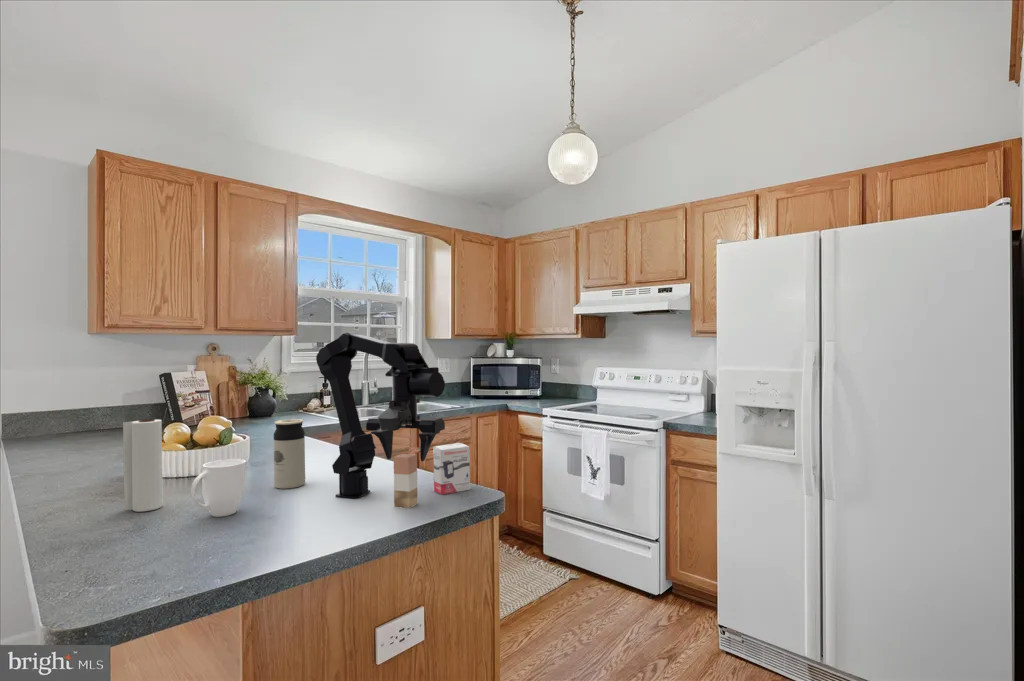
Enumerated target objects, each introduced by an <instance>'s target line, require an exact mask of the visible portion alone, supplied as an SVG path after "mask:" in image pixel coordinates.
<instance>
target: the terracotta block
mask: <svg viewBox="0 0 1024 681" xmlns="http://www.w3.org/2000/svg"><path fill="white" fill-rule="evenodd" d="M417 458H418V454H417V453H416V454H414V453H400V454H397V455H395V456H393V475H394V474H406V475H409V474H411V473H413V472H416V471H417V472H418V459H417Z"/></svg>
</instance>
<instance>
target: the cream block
mask: <svg viewBox="0 0 1024 681" xmlns="http://www.w3.org/2000/svg"><path fill="white" fill-rule="evenodd" d="M393 481H394V482H393V485H394V486H393V489H394V490H396V491H407V492H409V491H411V490H413V489H415V488H417V489H418V470H417V471H416V472H413V473H411V474H409V475H406V474H394V473H393Z"/></svg>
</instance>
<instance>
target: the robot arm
mask: <svg viewBox="0 0 1024 681" xmlns="http://www.w3.org/2000/svg"><path fill="white" fill-rule="evenodd" d="M358 352H361V353H363V354H368V355H372V356H374V357H378V358H380V359H381V360H382V361H383V362H384V363H385V364H387V365H389V366H391V367H390V369H389V370H387V372H386V373H385V375H384V376H385V377H391V379H392V380H391V381H392V382H391V383H392V384H391V385H392V386H391V387H392V388H391V389H392V392H391V393H392V399H391V400H389V402H388V409H385V410H384V411H383V412H382V413H381V414H379V415H378V416H374V417H369V418H368V419H367V420H366V422H365V430H366V431H370V432H369V433H366V432H365V431H364V430H363V428H362V425H361V421H360V420H361V419H360V417H359V413H358V409H357V408H358V407H357V405H356V402H355V397H354V393H353V390H352V386H351V381H350V374H351V371H352V367H353V365H352V364H353V363H352V360H353V359H355V357H356V356H357V354H358ZM315 359H316V363H317V366H318V369H319V372H320V374H321V375H322V376H323V377H324V378H325V379H326V380H327V381H328V382H329V386H330V389H331V394H332V398H333V402H334V405H335V410H336V415H337V418H338V422H339V426H340V429H341V430H340V431H341V439H340V442H339V445H338V448H339V449H338V451H339V455H338V457H337V458H336V459H335V461H334V462H333V463H332V466H331V467H332V470H333V473H334V474H336V475H338V481H339V482H338V483H339V484H338V486H339V487H338V488H339V490H338V493H335V498H345V499H346V498H347V499H348V498H349V499H358V498H360V497H363V496H366V495H367V494H369V493H371V489H369V477H368V476H367V470H368V469H372V466H373V461H374V458H375V457H376V449H377V446H376V445H375V443H374V437H373V435H375V437H377V439H378V440H379V441H380V444H381V446H382V448H383V451H384V452H383V453H385V457H386V459H387V460H390V459H392V454H393V445H394V444H393V442H394V432H395V431H399V430H400V429H419V431H420V433H418V434H417V435H418V438H419V440H420V452H419V454H420V462H424V461H426V457H427V455H428V453H429V450H430V448H431V445H432V443H433V441H434V439H435V438H436V435H437V434H440V433H441V431H444V430H445V429H446V423H445V421H444V419H443V418H442V417H427V418H424V419H421V416H420V415H419V414H418V404H419V403H420V398H419V397H432V398H433V397H440V396H441V395H442V394H443V392H444V390H445V386H446V381H445V380H444V376H443V375H442V373H440V372H439V371H440V370H439V367H438V366H435V367H434V366H432V367H429V365H428V364H427V362H426V360H425V358H424V357H423V355H422V353H421V352H420V349H419V346H418V345H417V344H415V343H414V342H412V343H411V342H409V343H408V342H389V341H386V340H382V339H378V338H374V337H371V336H368V335H363V334H362V333H359V332H344V333H342V334H341V335H340V336H339V337H338V338H336V339H334V340H333V341H331V342H329V343H327V344H325V345H324V346H323V347H321V349H319V351H318V353H317V354H316V356H315Z"/></svg>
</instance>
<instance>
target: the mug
mask: <svg viewBox="0 0 1024 681" xmlns="http://www.w3.org/2000/svg"><path fill="white" fill-rule="evenodd" d="M246 465H247V462H246V459H243V458H227V459H226V458H225V459H217V460H214V461H209V462H206V463H204V464H202V472H201V473H200V474H198V475H197V476H196V477H195V478H194V480H192V484H191V488H190V496H191V498H192V500H193V502H194V504H196V505H197V506H199V507H200V508H203V509H207V510H208V511H209V514H210V515H211V517H215V518H216V517H217V518H219V517H226V516H231V515H234V514H235V513H237V511H238V508H239V505H240V503H241V501H242V499H243V495H244V492H245V484H246V483H245V482H246ZM201 479H202V480H201ZM200 480H201V482H202V484H201V494H202V499H203V502H204V503H202V502H200V501H199V500H198V499H197V497H196V488H197V485H198V483H199V481H200Z"/></svg>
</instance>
